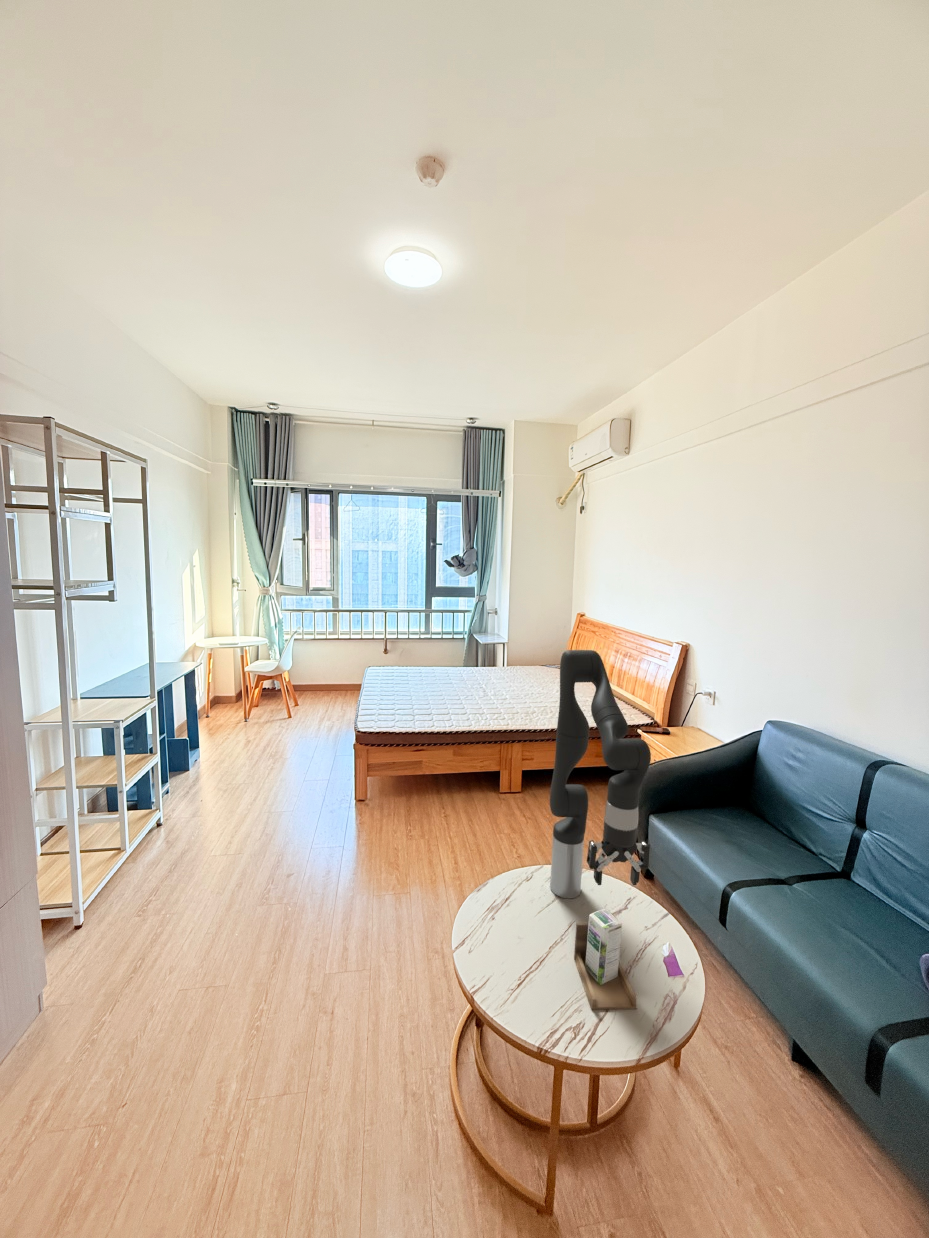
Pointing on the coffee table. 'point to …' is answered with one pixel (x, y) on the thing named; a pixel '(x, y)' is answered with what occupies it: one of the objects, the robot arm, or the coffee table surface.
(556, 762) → the robot arm
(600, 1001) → the book rack
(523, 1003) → the coffee table surface
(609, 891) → the coffee table surface
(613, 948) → the syrup box
